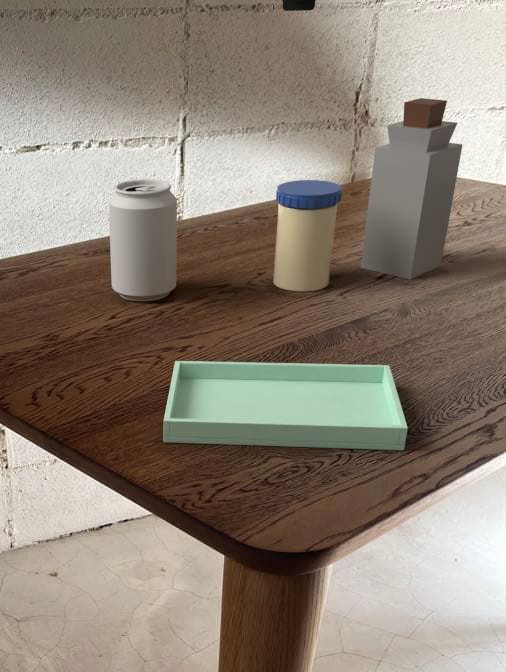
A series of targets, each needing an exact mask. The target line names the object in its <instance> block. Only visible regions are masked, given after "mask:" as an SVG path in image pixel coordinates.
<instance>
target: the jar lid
mask: <svg viewBox="0 0 506 672" xmlns="http://www.w3.org/2000/svg"><path fill="white" fill-rule="evenodd" d="M275 193H276V194H275V201H276V202H277V203H278V205H279V204H281V205H284V206H287V207H293V208H305V209H314V208H325V207H330V206H333V205H336V204H337V205H338V204H340V202H341V201H342V195H343V192H342V186H341V185H340V184H339V183H336V182H332V181H327V180H317V179H300V180H291V181H287V182H283V183H281V184H278V185H277V188H276V191H275Z"/></svg>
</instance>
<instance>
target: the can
mask: <svg viewBox="0 0 506 672" xmlns="http://www.w3.org/2000/svg"><path fill="white" fill-rule="evenodd" d="M171 189H172V184H171V183H170V182H168V181H166V180H161V179H150V178H149V179H146V178H145V179H142V178H141V179H131V180H125V181H121V182H120V183H119V182H118V183H117V184H115V186H114V187H113V190H114V193H113V195H112V196H111V197H110V199H109V201H108V221H109V223H108V224H109V225H108V226H109V245H110V246H109V249H110V250H109V251H110V276H111V288H112V289H113V291H114V292H115V293H117V294H118V295H119V297H121V298H122V299H125V300H128V301H133V302H151V301H157V300H161V299H164V298H166V297H167V296H168V295H170V293H171V292H172V291H173V290H174V289H175V288H176V287H177V273H178V272H177V271H178V270H177V268H178V267H177V265H178V263H177V255H178V253H177V252H178V249H177V248H178V246H177V245H178V241H177V239H178V198H177V197H176V195H174V194H173V192H172V191H171Z"/></svg>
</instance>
